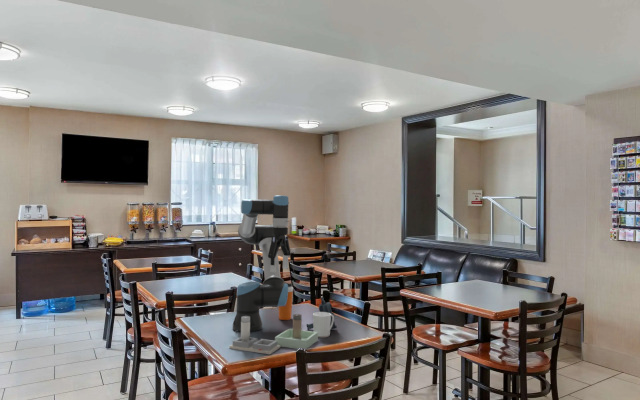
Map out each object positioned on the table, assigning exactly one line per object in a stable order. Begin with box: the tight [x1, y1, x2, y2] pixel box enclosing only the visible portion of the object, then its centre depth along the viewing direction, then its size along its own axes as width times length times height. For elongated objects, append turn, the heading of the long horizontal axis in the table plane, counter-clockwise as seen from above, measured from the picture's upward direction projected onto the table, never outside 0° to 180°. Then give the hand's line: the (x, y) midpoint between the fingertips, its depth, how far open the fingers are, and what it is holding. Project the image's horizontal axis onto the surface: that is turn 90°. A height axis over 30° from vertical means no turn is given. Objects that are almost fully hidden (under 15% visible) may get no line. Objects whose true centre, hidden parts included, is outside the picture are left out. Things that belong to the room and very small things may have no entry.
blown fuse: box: [292, 313, 303, 340], centre depth 196 cm, size 4×4×12 cm
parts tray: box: [274, 328, 319, 350], centre depth 195 cm, size 15×15×4 cm
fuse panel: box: [228, 336, 281, 355], centre depth 187 cm, size 20×10×3 cm, turn 69°
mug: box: [312, 311, 335, 338], centre depth 209 cm, size 11×9×10 cm
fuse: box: [240, 316, 251, 342], centre depth 189 cm, size 4×4×12 cm
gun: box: [306, 296, 338, 331], centre depth 218 cm, size 3×17×15 cm
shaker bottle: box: [277, 281, 294, 321], centre depth 240 cm, size 9×9×20 cm
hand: (279, 270), depth 207 cm, fingers open, 13 cm apart
